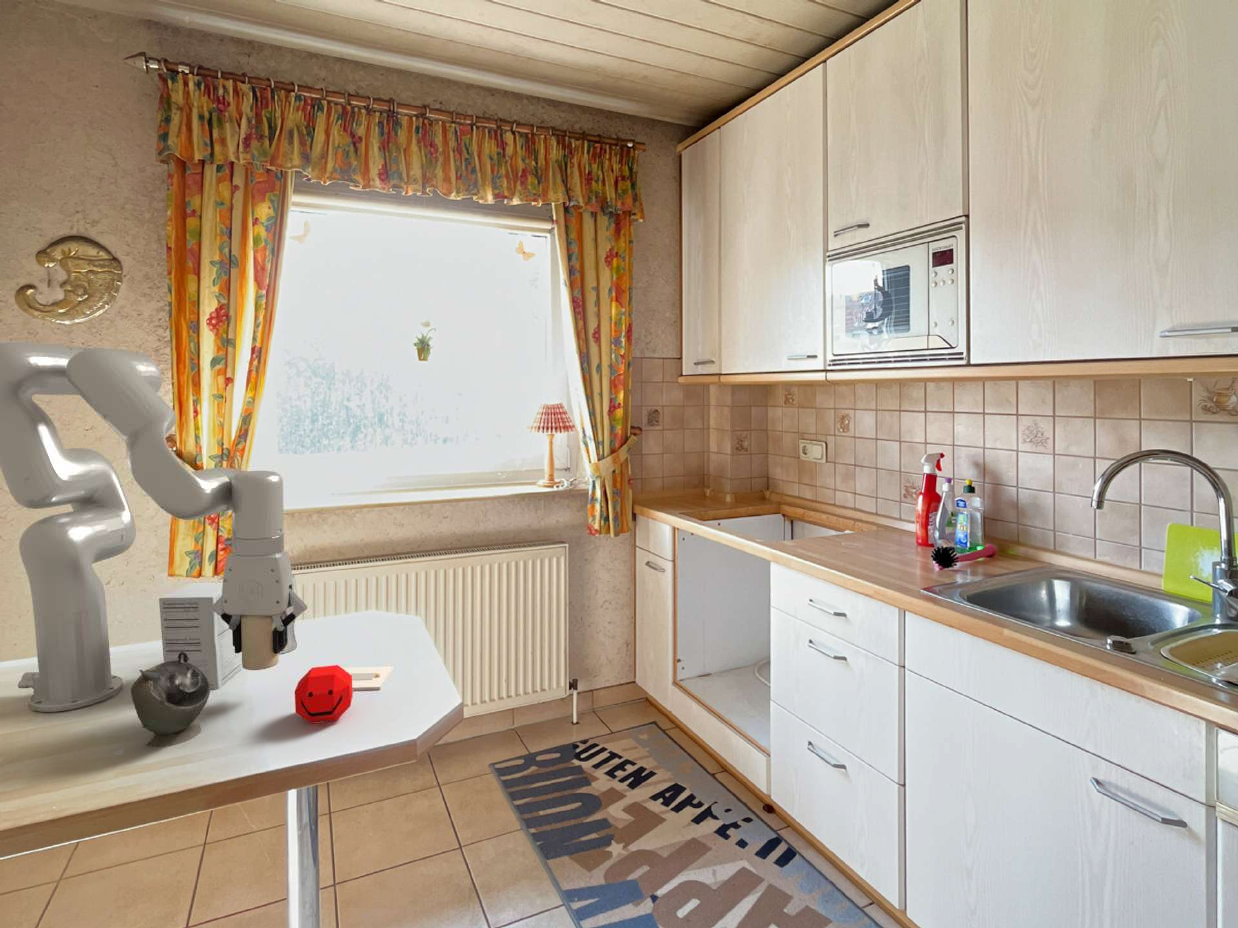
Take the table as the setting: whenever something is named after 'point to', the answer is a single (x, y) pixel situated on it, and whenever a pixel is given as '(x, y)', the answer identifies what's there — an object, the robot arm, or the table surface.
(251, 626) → the candle
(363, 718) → the table surface
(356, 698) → the table surface
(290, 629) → the beer glass
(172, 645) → the supplement box
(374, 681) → the card
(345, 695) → the ball
